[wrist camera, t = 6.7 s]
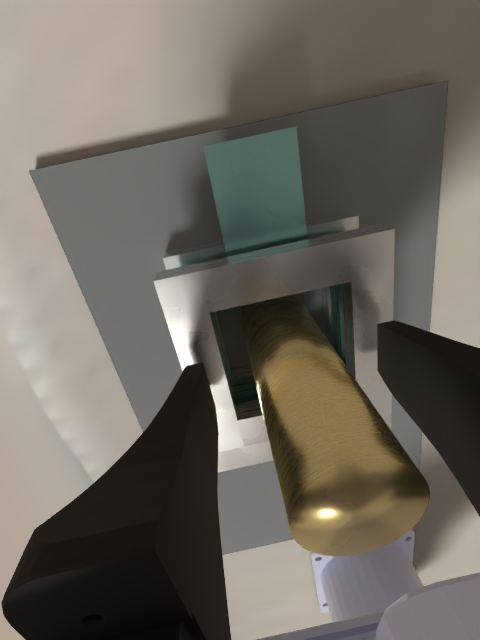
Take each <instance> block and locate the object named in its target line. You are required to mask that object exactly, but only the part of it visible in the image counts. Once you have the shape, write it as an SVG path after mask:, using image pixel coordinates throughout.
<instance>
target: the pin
mask: <svg viewBox="0 0 480 640" xmlns="http://www.w3.org/2000/svg"><path fill="white" fill-rule="evenodd" d="M240 320H241V325H242V329H243V333H244V337H245V342H246V346H247V350H248V354H249V358H250V363H251V367H252V371H253V375H254V380H255V384H256V388H257V392H258V397H259V401H260V405H261V409H262V414H263V418H264V422H265V426H266V430H267V435H268V439H269V443H270V447H271V452H272V456H273V460H274V464H275V469H276V473H277V477H278V481H279V485H280V490H281V494H282V498H283V502H284V507H285V511H286V515H287V519H288V524H289V528H290V531H291V534H292V536H293V538H294V539H295V541H296V542H297V543H298V544H299V545H301V546H302V547H303V548H305V549H307V550H308V551H311V552H313V553H316V554H320V555H326V556H336V557H338V556H353V555H358V554H363V553H367V552H371V551H374V550H376V549H379V548H382V547H384V546H386V545H388V544H390V543H392V542H394V541H396V540H397V539H399V538H400V537H402V536H403V535H405V534H406V533H407V532H408V531H410V530H411V529H412V528H413V527H414V526H415V525H416V524H417V523H418V522H419V520H420V519H421V518H422V516H423V515H424V513H425V511H426V509H427V506H428V504H429V499H430V491H429V486H428V484H427V481H426V480H425V478H424V477H423V475H422V474H421V473H420V471H419V470H418V468H417V467H416V465H415V464H414V463H413V461H412V460H411V458H410V457H409V455H408V454H407V453H406V451H405V450H404V448H403V447H402V445H401V444H400V443H399V441H398V440H397V438H396V437H395V435H394V434H393V433H392V431H391V430H390V428H389V427H388V425H387V424H386V423H385V421H384V420H383V418H382V417H381V415H380V414H379V413H378V411H377V410H376V408H375V407H374V405H373V404H372V403H371V401H370V400H369V398H368V397H367V395H366V394H365V392H364V391H363V390H362V388H361V387H360V385H359V384H358V382H357V381H356V380H355V378H354V377H353V375H352V374H351V372H350V371H349V370H348V368H347V367H346V365H345V364H344V362H343V361H342V360H341V358H340V357H339V355H338V354H337V352H336V351H335V350H334V348H333V347H332V345H331V344H330V342H329V341H328V340H327V338H326V337H325V335H324V334H323V332H322V331H321V330H320V328H319V327H318V325H317V324H316V322H315V321H314V320H313V318H312V317H311V315H310V314H309V312H308V311H307V310H306V308H305V307H304V305H303V304H302V302H301V301H300V300H299V298H298V297H297V295H296V294H292V295H288V296H283V297H279V298H274V299H270V300H265V301H260V302H256V303H251V304H247V305H242V308H241V312H240Z"/></svg>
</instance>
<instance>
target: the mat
mask: <svg viewBox="0 0 480 640" xmlns="http://www.w3.org/2000/svg"><path fill="white" fill-rule="evenodd" d="M447 90H448V81H444V82H440V83H435V84H430V85H426V86H421V87H416V88H412V89H407V90H403V91H398V92H393V93H389V94H384V95H379V96H375V97H370V98H365V99H361V100H356V101H351V102H347V103H342V104H337V105H333V106H328V107H323V108H319V109H314V110H309V111H305V112H300V113H295V114H291V115H286V116H281V117H277V118H272V119H267V120H263V121H258V122H254V123H249V124H244V125H240V126H235V127H230V128H226V129H221V130H216V131H212V132H207V133H202V134H198V135H193V136H188V137H184V138H179V139H174V140H170V141H165V142H160V143H156V144H151V145H146V146H142V147H137V148H132V149H128V150H123V151H118V152H114V153H109V154H105V155H100V156H95V157H91V158H86V159H81V160H77V161H72V162H67V163H63V164H58V165H53V166H49V167H44V168H39V169H35V170H30V171H29V172H30V175H31V177H32V179H33V182H34V184H35V186H36V188H37V191H38V193H39V195H40V198H41V200H42V202H43V204H44V207H45V209H46V211H47V214H48V216H49V218H50V220H51V223H52V225H53V227H54V230H55V232H56V234H57V236H58V239H59V241H60V243H61V246H62V248H63V250H64V252H65V255H66V257H67V259H68V262H69V264H70V266H71V268H72V271H73V273H74V275H75V278H76V280H77V282H78V284H79V287H80V289H81V291H82V294H83V296H84V298H85V300H86V303H87V305H88V307H89V310H90V312H91V314H92V316H93V319H94V321H95V323H96V326H97V328H98V330H99V332H100V335H101V337H102V339H103V341H104V344H105V346H106V348H107V351H108V353H109V355H110V357H111V360H112V362H113V364H114V367H115V369H116V371H117V373H118V376H119V378H120V380H121V383H122V385H123V387H124V389H125V392H126V394H127V396H128V399H129V401H130V403H131V405H132V408H133V410H134V412H135V415H136V417H137V419H138V421H139V424H140V426H141V428H142V431H143V432H144V431H145V430H146V428H147V427H148V426H149V424H150V423H151V422H152V420H153V419H154V417H155V416H156V414H157V413H158V412H159V410H160V409H161V407H162V406H163V404H164V403H165V401H166V399H167V398H168V396H169V394H170V393H171V391H172V389H173V388H174V386H175V384H176V382H177V381H178V379H179V377H180V375H181V373H182V372H183V370H182V367H181V364H180V361H179V358H178V355H177V352H176V349H175V346H174V343H173V340H172V337H171V334H170V331H169V328H168V325H167V322H166V319H165V315H164V312H163V309H162V306H161V303H160V300H159V297H158V294H157V291H156V288H155V285H154V282H153V281H154V278H155V276H156V274H157V272H159V271H164V270H166V267H165V264H164V261H163V256H164V254H165V252H168V251H173V250H177V249H182V248H187V247H191V246H196V245H200V244H205V243H210V242H214V241H219V240H223V237H222V233H221V228H220V223H219V219H218V214H217V209H216V205H215V200H214V195H213V191H212V186H211V182H210V177H209V172H208V168H207V163H206V158H205V154H204V149H203V146H208V145H212V144H217V143H222V142H226V141H231V140H236V139H240V138H245V137H250V136H254V135H259V134H264V133H268V132H273V131H277V130H282V129H287V128H291V127H296V128H297V138H298V148H299V158H300V168H301V178H302V188H303V198H304V208H305V218H306V221H311V220H316V219H320V218H325V217H330V216H334V215H339V214H343V213H348V212H349V213H352V214H355V215H357V216H359V228H362V227H367V226H371V225H376V224H383V225H385V226H388V227H391V228H394V229H395V245H394V301H393V320H395V321H399V322H402V323H405V324H408V325H411V326H414V327H417V328H420V329H423V330H426V331H428V332H429V331H430V318H431V304H432V291H433V278H434V264H435V251H436V237H437V224H438V211H439V197H440V184H441V170H442V157H443V144H444V130H445V117H446V103H447ZM296 295H297V297H298V298H299V300H300V301H301V302H302V304H303V305H304V307H305V308H306V310H307V311H308V312H309V314H310V315H311V317H312V318H313V320H314V321H315V322H316V324H317V325H318V327H319V328H320V330H321V331H322V332H323V334H324V323H323V312H322V300H321V289H315V290H311V291H306V292H302V293H297V294H296ZM241 308H242V306H237V307H233V308H228V309H224V310H219V311H216V312H217V316H218V320H219V324H220V328H221V332H222V336H223V340H224V344H225V348H226V352H227V356H228V360H229V364H230V368H235V367H240V366H245V365H249V364H251V363H250V358H249V354H248V350H247V346H246V342H245V337H244V333H243V329H242V325H241V320H240V312H241ZM324 335H325V334H324ZM391 431H392V433H393V434H394V435H395V437H396V438H397V440H398V441H399V443H400V444H401V445H402V447H403V448H404V450H405V451H406V453H407V454H408V455H409V457H410V458H411V460H412V461H413V463H414V464H415V465H416V467H417V468H418V470H419V465H420V452H421V438H422V431H421V429H420V428H419V427H418V426H417V425H416V423H415V422H414V421H413V420H412V419H411V417H410V416H409V415H408V414H407V412H406V411H405V410H404V409H403V408H402V406H401V405H400V404H399V403H398V401H397V400H396V399H395V398H394V396H393V395H392V412H391ZM218 511H219V524H220V536H221V547H222V555H224V554H229V553H233V552H238V551H242V550H247V549H251V548H256V547H260V546H265V545H269V544H274V543H278V542H283V541H287V540H292V539H294V538H293V536H292V534H291V531H290V528H289V524H288V519H287V515H286V511H285V507H284V502H283V498H282V494H281V490H280V485H279V481H278V477H277V473H276V469H275V464H274V460H273V461H268V462H264V463H259V464H255V465H250V466H245V467H241V468H236V469H232V470H227V471H223V472H218Z"/></svg>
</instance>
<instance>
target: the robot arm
mask: <svg viewBox="0 0 480 640" xmlns="http://www.w3.org/2000/svg"><path fill="white" fill-rule="evenodd" d="M377 371H378V372H379V374H380V376H381V377H382V379H383V381H384V383H385V384H386V386H387V387H388V389H389V391H390V392H391V394H392V395H393V396H394V398H395V399H396V400H397V401H398V403H399V404H400V405H401V406H402V408H403V409H404V410H405V411H406V412H407V414H408V415H409V416H410V417H411V419H412V420H413V421H414V422H415V423H416V425H417V426H418V427H419V428H420V429H421V431H422V432H423V433H424V434H425V436H426V437H427V438H428V439H429V440H430V442H431V443H432V444H433V446H434V447H435V448H436V450H437V451H438V452H439V454H440V455H441V456H442V458H443V459H444V461H445V462H446V464H447V466H448V467H449V469H450V470H451V472H452V473H453V475H454V476H455V478H456V479H457V481H458V482H459V484H460V485H461V487H462V489H463V490H464V492H465V493H466V495H467V497H468V498H469V500H470V501H471V503H472V505H473V506H474V508H475V509H476V511H477V513H478V514H479V516H480V348H477V347H473V346H470V345H467V344H464V343H460V342H457V341H454V340H451V339H448V338H445V337H443V336H440V335H437V334H434V333H431V332H428V331H426V330H423V329H420V328H417V327H414V326H411V325H408V324H405V323H402V322H399V321H395V320H393V321H388V322H384V323H379V324H377ZM414 538H415V532H414V530H413V528H412V529H411V530H410V531H408V532H407V533H406V534H405V535H403V536H402V537H400V538H399V539H397V540H396V541H394V542H392V543H390V544H388V545H386V546H384V547H382V548H379V549H376V550H374V551H371V552H367V553H363V554H358V555H353V556H338V557H336V556H326V555H320V554H316V553H313V552H311V551H310V554H311V560H312V566H313V572H314V578H315V584H316V590H317V596H318V602H319V608H320V611H321V613H330V616H331V620H332V623H329V624H324V625H320V626H315V627H311V628H306V629H302V630H297V631H293V632H288V633H284V634H280V635H275V636H271V637H266V638H262V639H257V640H480V573H476V574H471V575H467V576H462V577H458V578H454V579H449V580H445V581H440V582H436V583H433V584H430V585H428V586H425V587H424V586H423V584H422V582H421V580H420V578H419V576H418V574H417V572H416V570H415V569H414V567H413V565H412V564H413V551H414ZM2 608H3V614H4V616H5V618H6V619H7V621H8V622H9V623H10V625H11V626H12V627H13V628H14V629H15V630H16V631H17V632H18V633H19V634H20V635H22V636H23V637H24V638H25V639H26V640H231V634H230V625H229V616H228V608H227V598H226V588H225V578H224V568H223V558H222V547H221V536H220V524H219V511H218V423H217V414H216V406H215V402H214V399H213V395H212V392H211V388H210V385H209V382H208V378H207V375H206V371H205V368H204V364H203V362H201V363H197V364H192V365H188V366H186V367H185V368H184V370H183V372H182V373H181V375H180V377H179V379H178V381H177V382H176V384H175V386H174V388H173V389H172V391H171V393H170V394H169V396H168V398H167V399H166V401H165V403H164V404H163V406H162V407H161V409H160V410H159V412H158V413H157V414H156V416H155V417H154V419H153V420H152V422H151V423H150V424H149V426H148V427H147V428H146V430H145V431H144V432H143V433H142V435H141V436H140V437H139V438H138V439H137V440H136V442H135V443H134V444H133V445H132V446H131V447H130V448H129V450H128V451H127V452H126V453H125V454H124V455H123V456H122V457H121V458H120V459H119V460H118V461H117V462H116V463H115V464H114V465H113V466H112V467H111V468H110V469H109V470H108V471H107V472H106V473H105V474H103V475H102V476H101V477H100V478H99V479H98V480H97V481H96V482H95V483H93V484H92V485H91V486H90V487H89V488H88V489H87V490H85V491H84V492H83V493H82V494H81V495H79V496H78V497H77V498H76V499H74V500H73V501H72V502H71V503H70V504H68V505H67V506H65V507H64V508H63V509H62V510H60V511H59V512H57V513H56V514H55V515H54V516H52V517H51V518H50V519H48V520H47V521H46V522H44V523H43V524H42V525H40V526H39V527H37V528H36V529H35V530H34V532H33V534H32V536H31V538H30V540H29V542H28V544H27V546H26V548H25V550H24V552H23V555H22V557H21V559H20V562H19V563H18V566H17V568H16V570H15V572H14V575H13V577H12V579H11V581H10V584H9V586H8V588H7V590H6V592H5V595H4V598H3V600H2Z"/></svg>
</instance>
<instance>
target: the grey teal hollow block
mask: <svg viewBox="0 0 480 640" xmlns="http://www.w3.org/2000/svg"><path fill="white" fill-rule="evenodd" d="M203 149H204V154H205V158H206V163H207V168H208V172H209V177H210V182H211V186H212V191H213V195H214V200H215V205H216V209H217V214H218V219H219V223H220V228H221V233H222V237H223V240H219V241H214V242H210V243H205V244H200V245H196V246H191V247H187V248H182V249H177V250H173V251H168V252H165V254H164V256H163V261H164V264H165V267H166V270H164V271H159V272H157V274H156V276H155V278H154V281H153V282H154V285H155V288H156V291H157V294H158V297H159V300H160V303H161V306H162V309H163V312H164V315H165V319H166V322H167V325H168V328H169V331H170V334H171V337H172V340H173V343H174V346H175V349H176V352H177V355H178V358H179V361H180V364H181V367H182V370H184V368H185V367H186V366H188V365H192V364H197V363H201V362H203V364H204V368H205V371H206V375H207V378H208V382H209V385H210V388H211V392H212V395H213V399H214V402H215V406H216V414H217V423H218V472H223V471H227V470H232V469H236V468H241V467H245V466H250V465H255V464H259V463H264V462H268V461H273V456H272V452H271V447H270V443H269V439H268V435H267V430H266V426H265V422H264V418H263V414H262V409H261V405H260V401H259V397H258V392H257V388H256V384H255V380H254V375H253V371H252V367H251V364H249V365H245V366H240V367H235V368H230V364H229V360H228V356H227V352H226V348H225V344H224V340H223V336H222V332H221V328H220V324H219V320H218V316H217V312H216V311H219V310H224V309H228V308H233V307H237V306H242V305H247V304H251V303H256V302H260V301H265V300H270V299H274V298H279V297H283V296H288V295H292V294H297V293H302V292H306V291H311V290H315V289H321V300H322V312H323V323H324V334H325V337H326V338H327V340H328V341H329V342H330V344H331V345H332V347H333V348H334V350H335V351H336V352H337V354H338V355H339V357H340V358H341V360H342V361H343V362H344V364H345V365H346V367H347V368H348V370H349V371H350V372H351V374H352V375H353V377H354V378H355V380H356V381H357V382H358V384H359V385H360V387H361V388H362V390H363V391H364V392H365V394H366V395H367V397H368V398H369V400H370V401H371V403H372V404H373V405H374V407H375V408H376V410H377V411H378V413H379V414H380V415H381V417H382V418H383V420H384V421H385V423H386V424H387V425H388V427H389V428H390V430H391V412H392V394H391V392H390V391H389V389H388V387H387V386H386V384H385V383H384V381H383V379H382V377H381V376H380V374H379V372H378V371H377V324H379V323H384V322H388V321H393V301H394V245H395V229H394V228H391V227H388V226H385V225H383V224H376V225H371V226H367V227H362V228H359V216H357V215H355V214H352V213H349V212H348V213H343V214H339V215H334V216H330V217H325V218H320V219H316V220H311V221H306V218H305V208H304V198H303V188H302V178H301V168H300V158H299V148H298V138H297V128H296V127H291V128H287V129H282V130H277V131H273V132H268V133H264V134H259V135H254V136H250V137H245V138H240V139H236V140H231V141H226V142H222V143H217V144H212V145H208V146H203Z"/></svg>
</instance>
